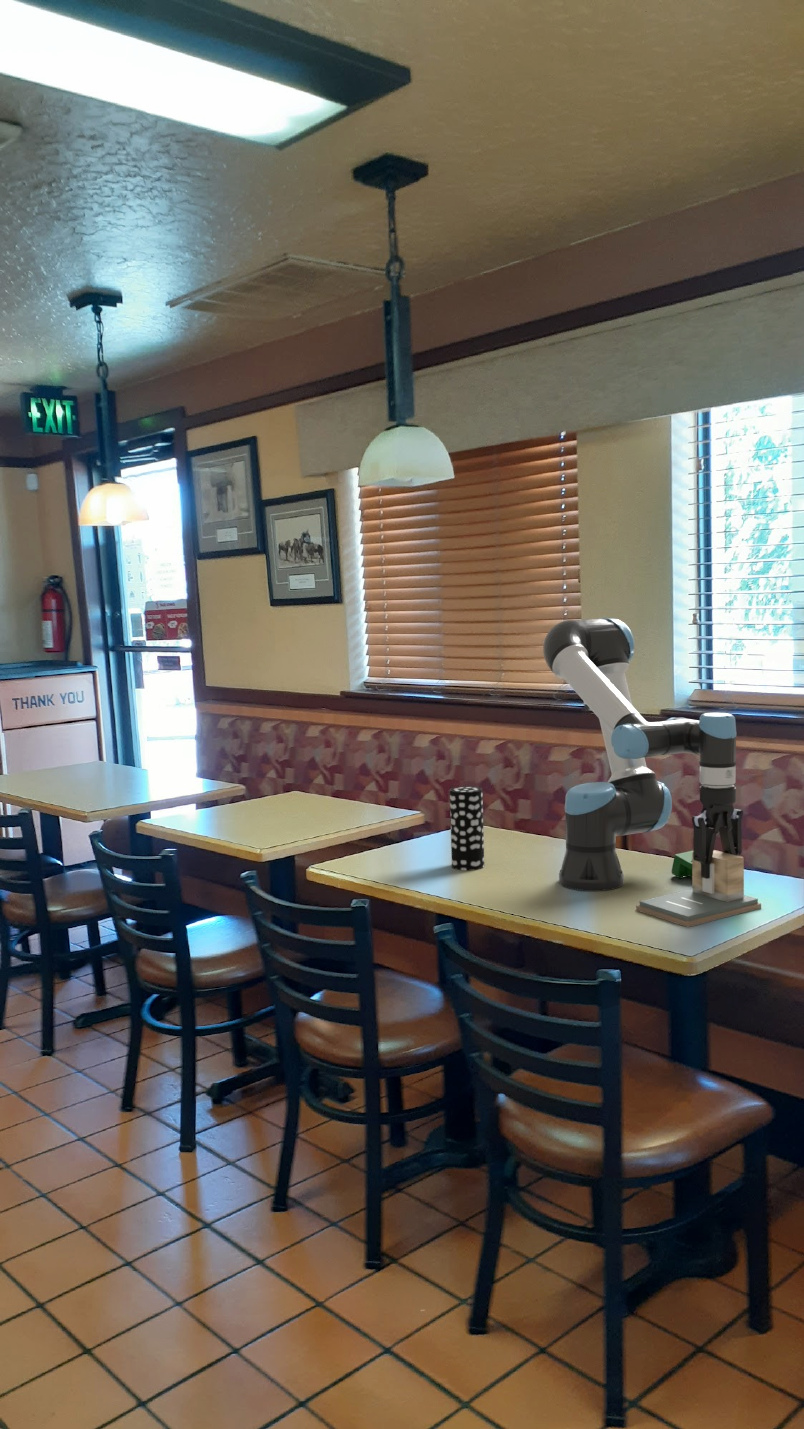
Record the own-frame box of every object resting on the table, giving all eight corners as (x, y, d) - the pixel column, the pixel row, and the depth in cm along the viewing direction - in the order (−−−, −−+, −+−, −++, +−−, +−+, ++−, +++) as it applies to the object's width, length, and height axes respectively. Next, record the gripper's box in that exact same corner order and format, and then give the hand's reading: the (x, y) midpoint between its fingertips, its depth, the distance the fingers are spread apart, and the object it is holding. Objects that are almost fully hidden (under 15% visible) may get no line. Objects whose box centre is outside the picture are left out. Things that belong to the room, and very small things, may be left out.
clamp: (692, 898, 255) (688, 868, 250) (673, 886, 260) (669, 858, 255) (727, 872, 259) (724, 843, 255) (708, 861, 264) (704, 833, 260)
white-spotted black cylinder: (479, 871, 268) (477, 792, 266) (447, 869, 271) (445, 791, 269) (487, 863, 276) (486, 786, 274) (456, 861, 279) (454, 786, 277)
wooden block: (692, 892, 237) (692, 852, 236) (708, 888, 239) (708, 848, 238) (727, 902, 228) (727, 860, 227) (743, 898, 231) (743, 857, 230)
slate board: (636, 910, 232) (636, 901, 232) (707, 892, 243) (707, 884, 243) (688, 927, 219) (688, 917, 219) (761, 907, 230) (761, 898, 230)
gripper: (701, 792, 223) (701, 901, 226) (760, 782, 233) (759, 886, 235) (674, 787, 230) (675, 893, 232) (733, 777, 239) (733, 879, 242)
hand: (717, 889), depth 234 cm, fingers closed on wooden block, 5 cm apart
